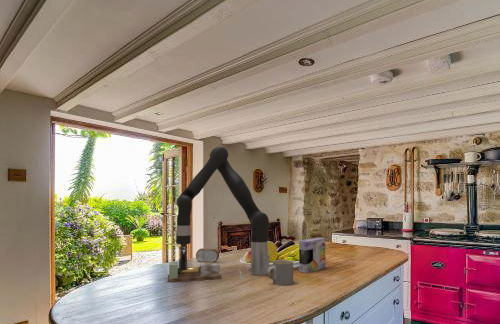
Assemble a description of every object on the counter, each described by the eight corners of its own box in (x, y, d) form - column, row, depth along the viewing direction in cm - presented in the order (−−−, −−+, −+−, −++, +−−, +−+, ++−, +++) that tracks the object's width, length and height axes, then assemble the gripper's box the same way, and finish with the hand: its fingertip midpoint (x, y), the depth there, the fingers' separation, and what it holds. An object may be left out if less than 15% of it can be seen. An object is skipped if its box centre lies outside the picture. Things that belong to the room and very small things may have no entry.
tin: (219, 261, 219) (219, 248, 220) (218, 262, 216) (218, 249, 217) (196, 261, 221) (196, 248, 222) (195, 262, 218) (195, 248, 219)
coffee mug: (289, 279, 172) (288, 259, 173) (296, 284, 163) (296, 263, 164) (263, 281, 169) (263, 260, 170) (269, 286, 160) (269, 264, 161)
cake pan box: (304, 273, 185) (303, 240, 187) (297, 272, 189) (296, 239, 191) (326, 269, 197) (325, 238, 199) (319, 267, 201) (319, 237, 203)
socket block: (177, 274, 177) (177, 261, 178) (177, 278, 170) (177, 264, 170) (168, 275, 176) (169, 262, 177) (169, 278, 169) (169, 265, 169)
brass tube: (206, 272, 179) (206, 257, 180) (207, 273, 176) (207, 258, 176) (173, 273, 175) (173, 258, 176) (173, 275, 171) (174, 260, 172)
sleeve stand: (218, 274, 183) (218, 262, 184) (221, 279, 174) (221, 266, 174) (167, 277, 177) (167, 264, 178) (167, 282, 167) (168, 268, 168)
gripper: (191, 235, 170) (191, 270, 169) (189, 232, 184) (189, 265, 182) (176, 236, 168) (175, 271, 167) (175, 233, 182) (174, 266, 180)
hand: (182, 268), depth 174 cm, fingers closed on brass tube, 3 cm apart
